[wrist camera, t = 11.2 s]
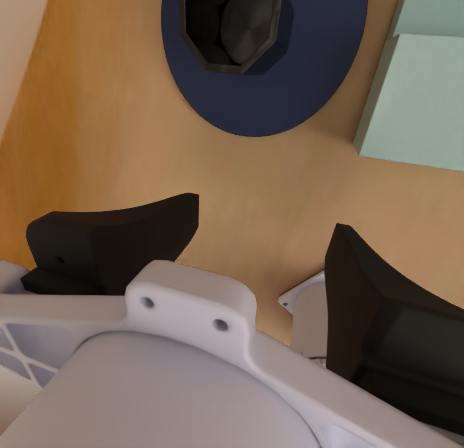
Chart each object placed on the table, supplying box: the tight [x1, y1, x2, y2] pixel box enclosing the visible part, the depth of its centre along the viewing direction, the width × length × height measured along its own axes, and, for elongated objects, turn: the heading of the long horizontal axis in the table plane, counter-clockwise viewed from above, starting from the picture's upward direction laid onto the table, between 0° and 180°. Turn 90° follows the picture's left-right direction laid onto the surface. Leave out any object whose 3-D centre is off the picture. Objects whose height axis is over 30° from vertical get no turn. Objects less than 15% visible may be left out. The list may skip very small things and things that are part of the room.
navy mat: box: [161, 0, 368, 137], centre depth 18 cm, size 14×14×1 cm
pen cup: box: [178, 0, 294, 75], centre depth 15 cm, size 5×5×6 cm
